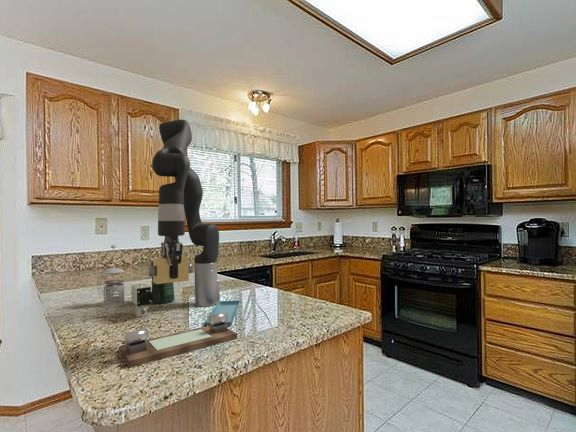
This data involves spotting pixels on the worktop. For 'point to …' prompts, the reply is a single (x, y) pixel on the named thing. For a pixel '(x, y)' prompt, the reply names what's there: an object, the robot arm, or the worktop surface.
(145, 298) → the pneumatic valve
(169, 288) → the coffee jar
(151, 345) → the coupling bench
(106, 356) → the worktop surface
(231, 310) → the rectangular tray
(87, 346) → the worktop surface
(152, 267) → the coupling block
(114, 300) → the french press
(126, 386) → the worktop surface
